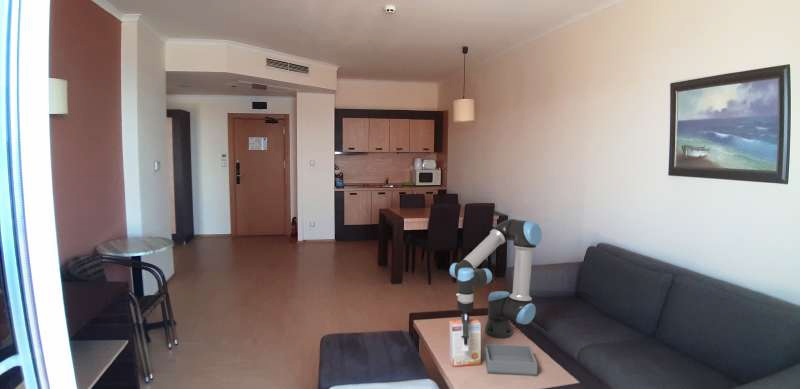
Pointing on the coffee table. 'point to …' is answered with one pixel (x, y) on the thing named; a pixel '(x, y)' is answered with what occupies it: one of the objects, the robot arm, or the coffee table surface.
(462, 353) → the cracker box
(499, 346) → the pantry crate
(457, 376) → the coffee table surface
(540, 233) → the robot arm
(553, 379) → the coffee table surface
